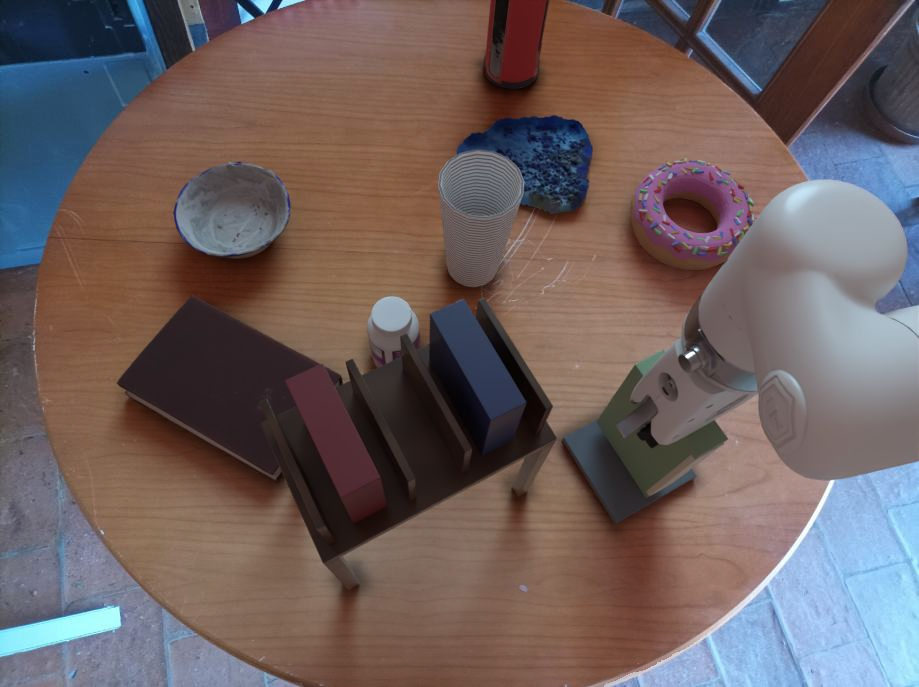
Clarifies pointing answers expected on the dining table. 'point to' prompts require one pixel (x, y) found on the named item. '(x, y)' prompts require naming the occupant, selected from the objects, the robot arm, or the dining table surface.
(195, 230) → the bowl
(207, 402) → the book
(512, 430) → the navy book
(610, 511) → the mat
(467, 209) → the cup
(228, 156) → the dining table surface
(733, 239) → the donut
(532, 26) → the speaker
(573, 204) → the rock
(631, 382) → the green book
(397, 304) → the pill bottle
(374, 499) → the burgundy book
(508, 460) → the rack
